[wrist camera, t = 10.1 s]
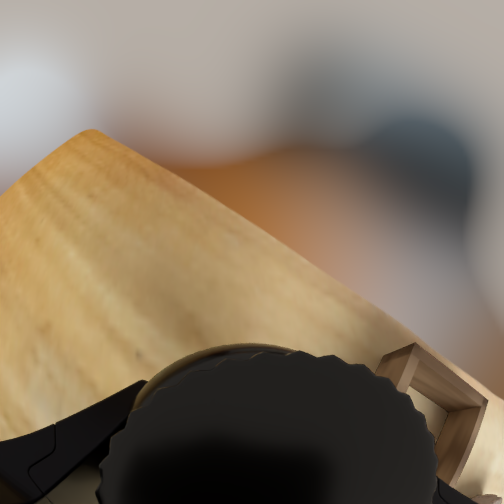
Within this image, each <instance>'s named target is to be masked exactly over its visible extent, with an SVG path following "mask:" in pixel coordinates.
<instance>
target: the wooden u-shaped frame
mask: <svg viewBox="0 0 504 504" xmlns="http://www.w3.org/2000/svg"><path fill="white" fill-rule="evenodd" d="M375 375H376V376H383V377H387V378H389V379H390V380H391V381H392V383H393V384H394V385H395V387H396V389H397V390H398V391H400V392H403V393H406V391H407V389H408V387H409V386H411V387H412V388H414V389H415V390H417V391H418V392H420V393H421V394H423V395H424V396H426V397H427V398H428V399H430V400H431V401H433V402H434V403H436V404H437V405H439V406H440V407H442V408H443V409H445V410H446V411H448V412H449V414H448V417H447V419H446V422H445V424H444V427H443V429H442V431H441V434H440V436H439V438H438V440H437V443H436V445H435V447H434V451H435V453H436V455H437V457H438V460H439V462H438V467H437V471H436V476H438V478H440V479H442V480H443V481H444V482H445V483H447V484H448V485H449V486H451V487H452V488H454V487H455V485H456V483H457V481H458V479H459V477H460V475H461V473H462V471H463V468H464V466H465V464H466V462H467V460H468V457H469V455H470V453H471V450H472V448H473V445H474V443H475V440H476V437H477V435H478V432H479V429H480V426H481V423H482V420H483V417H484V414H485V410H486V407H487V403H488V400H487V399H486V398H485V397H484V396H482V395H481V394H480V393H479V392H478V391H476V390H475V389H474V388H473V387H471V386H470V385H469V384H468V383H466V382H465V381H464V380H463V379H461V378H460V377H459V376H458V375H456V374H455V373H454V372H453V371H451V370H450V369H449V368H447V367H446V366H445V365H444V364H442V363H441V362H440V361H438V360H437V359H436V358H435V357H433V356H432V355H431V354H429V353H428V352H427V351H426V350H424V349H423V348H422V347H420V346H419V345H418V344H416V343H413V344H410V345H408V346H406V347H403V348H401V349H399V350H396V351H394V352H391V353H389V354H386V355H384V356H383V358H382V360H381V363H380V365H379V367H378V369H377V371H376V373H375Z"/></svg>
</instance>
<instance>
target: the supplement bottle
mask: <svg viewBox="0 0 504 504" xmlns="http://www.w3.org/2000/svg"><path fill="white" fill-rule="evenodd" d="M109 447H110V451H109V455H108V456H107V457H105V458H104V459H103V460H102V462H101V463H100V464H99V473H100V478H101V482H100V484H99V485H98V487H97V489H96V491H95V495H96V498H97V501H98V503H99V504H432V497H433V495H434V492H435V490H436V488H437V485H438V483H437V477H436V471H437V467H438V462H439V460H438V457H437V455H436V453H435V451H434V447H435V440H434V436H433V435H432V433H431V432H429V430H428V429H427V424H426V419H425V416H424V414H422V413H421V412H420V411H417V410H416V409H415V407H414V405H413V402H412V400H411V398H410V396H409V395H408V394H406V393H403V392H400V391H398V390H397V389H396V387H395V385H394V384H393V383H392V381H391V380H390V379H389V378H387V377H383V376H376V375H374V373H373V372H372V371H371V370H370V369H369V368H367V367H366V366H365V365H364V364H347V363H346V362H344V361H343V360H342V359H340V358H338V357H337V356H335V355H328V356H322V357H318V358H317V357H315V356H313V355H310V354H308V353H305V352H303V351H300V350H299V351H296V350H293V349H289V348H285V347H281V346H276V345H269V344H257V343H241V344H230V345H222V346H217V347H212V348H209V349H205V350H202V351H198V352H196V353H193V354H191V355H188V356H186V357H184V358H182V359H180V360H178V361H176V362H174V363H172V364H171V365H169V366H168V367H166V368H164V369H163V370H162V371H161V372H159V373H158V374H157V375H155V376H154V377H153V378H152V379H151V380H150V381H149V382H148V383H147V384H145V386H144V387H143V388H142V389H141V390H140V391H139V392H138V394H137V395H136V396H135V398H134V399H133V401H132V402H131V404H130V406H129V410H128V416H127V421H126V424H125V426H124V429H123V430H121V431H119V432H117V433H116V434H114V435H113V436H112V437H111V440H110V445H109Z"/></svg>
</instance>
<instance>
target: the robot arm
mask: <svg viewBox="0 0 504 504" xmlns="http://www.w3.org/2000/svg"><path fill="white" fill-rule="evenodd" d="M147 383H148V381H146V380H140V381H138V382H136V383H134V384H132V385H130V386H128V387H127V388H125V389H123V390H121V391H119V392H117V393H115V394H113V395H111V396H109V397H108V398H106V399H104V400H102V401H100V402H98V403H96V404H94V405H92V406H90V407H88V408H86V409H84V410H82V411H80V412H78V413H75V414H73V415H71V416H69V417H67V418H65V419H63V420H61V421H59V422H56V423H55V424H52V425H50V426H47V427H45V428H43V429H40V430H38V431H35V432H33V433H30V434H27V435H24V436H20V437H17V438H13V439H9V440H5V441H1V442H0V504H99V503H98V501H97V498H96V495H95V491H96V489H97V487H98V485H99V484H100V482H101V478H100V473H99V464H100V463H101V462H102V460H103V459H104V458H105V457H107V456H108V455H109V451H110V447H109V445H110V440H111V437H112V436H113V435H114V434H116V433H117V432H119V431H121V430H123V429H124V426H125V424H126V421H127V416H128V410H129V406H130V404H131V402H132V401H133V399H134V398H135V396H136V395H137V394H138V392H139V391H140V390H141V389H142V388H143V387H144V386H145V384H147ZM436 477H437V483H438V485H437V488H436V490H435V492H434V495H433V497H432V504H479V503H477V502H475V501H473V500H472V499H470V498H468V497H466V496H465V495H463V494H461V493H460V492H458V491H457V490H455V489H454V488H452V487H451V486H449V485H448V484H447V483H445V482H444V481H443V480H442V479H440V478H438V476H436Z"/></svg>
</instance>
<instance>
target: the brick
mask: <svg viewBox="0 0 504 504" xmlns="http://www.w3.org/2000/svg"><path fill="white" fill-rule="evenodd" d="M471 499H472V500H473V501H475V502H477V503H479V504H501V503H502V498H501V497H497V495H493V494H485V495H477V496H475V497H473V498H471Z"/></svg>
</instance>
